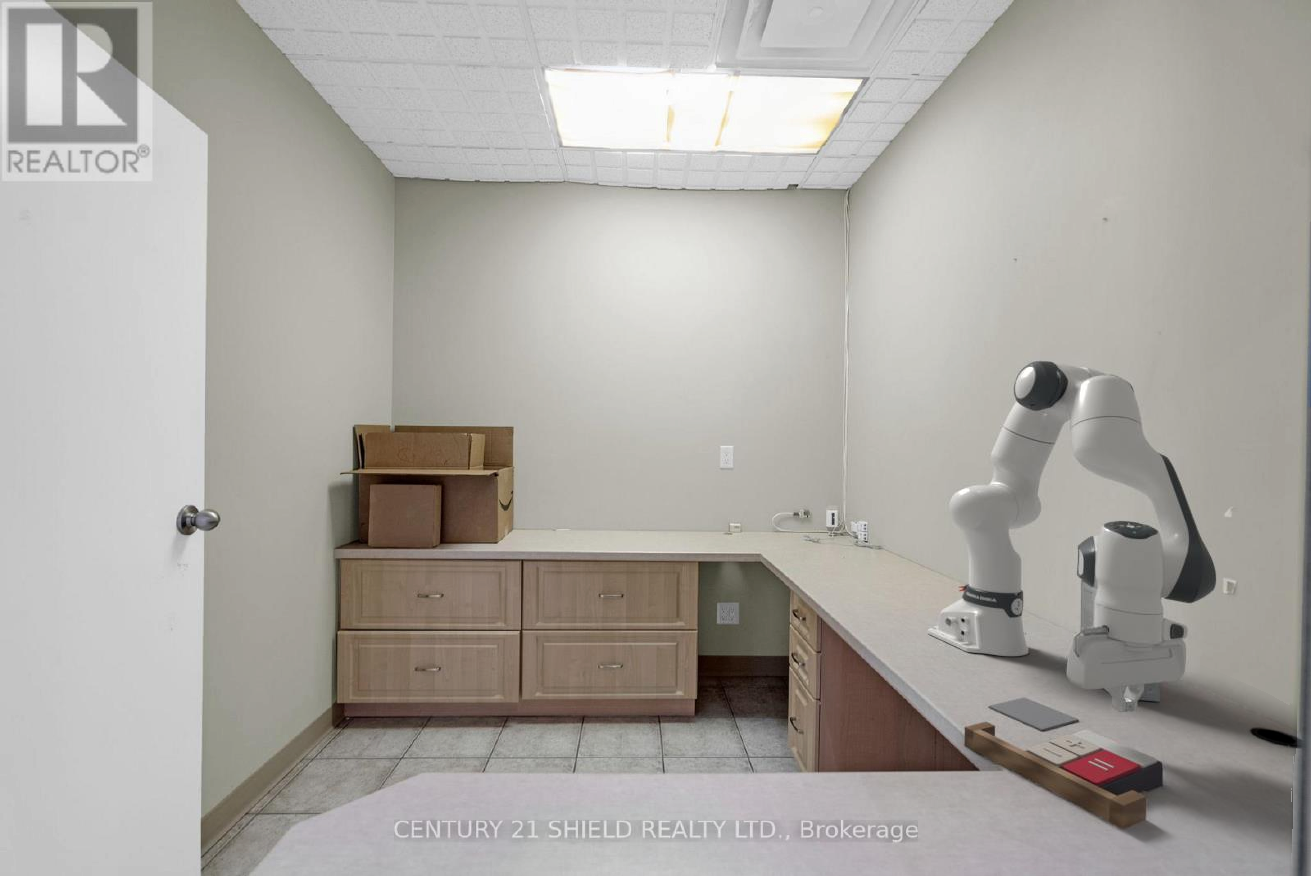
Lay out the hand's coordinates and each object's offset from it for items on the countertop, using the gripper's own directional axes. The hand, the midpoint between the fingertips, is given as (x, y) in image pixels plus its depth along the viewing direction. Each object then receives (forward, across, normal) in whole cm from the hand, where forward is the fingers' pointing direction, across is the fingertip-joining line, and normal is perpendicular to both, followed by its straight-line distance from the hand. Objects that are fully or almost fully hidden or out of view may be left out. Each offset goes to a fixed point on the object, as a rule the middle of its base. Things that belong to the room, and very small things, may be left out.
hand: (1124, 710), depth 99 cm
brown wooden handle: (+6, -20, -5) cm, 22 cm away
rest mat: (+6, -4, +14) cm, 16 cm away
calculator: (+7, -13, -6) cm, 16 cm away
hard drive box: (+7, +24, +21) cm, 33 cm away
